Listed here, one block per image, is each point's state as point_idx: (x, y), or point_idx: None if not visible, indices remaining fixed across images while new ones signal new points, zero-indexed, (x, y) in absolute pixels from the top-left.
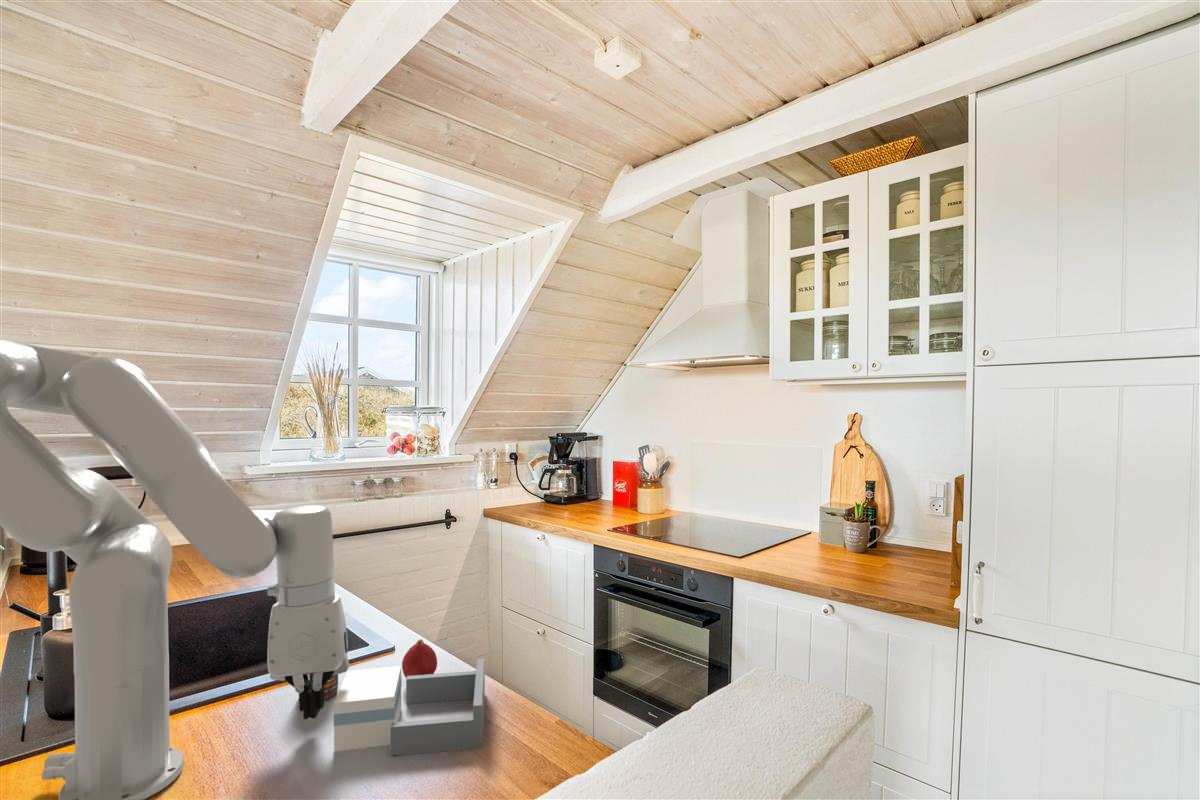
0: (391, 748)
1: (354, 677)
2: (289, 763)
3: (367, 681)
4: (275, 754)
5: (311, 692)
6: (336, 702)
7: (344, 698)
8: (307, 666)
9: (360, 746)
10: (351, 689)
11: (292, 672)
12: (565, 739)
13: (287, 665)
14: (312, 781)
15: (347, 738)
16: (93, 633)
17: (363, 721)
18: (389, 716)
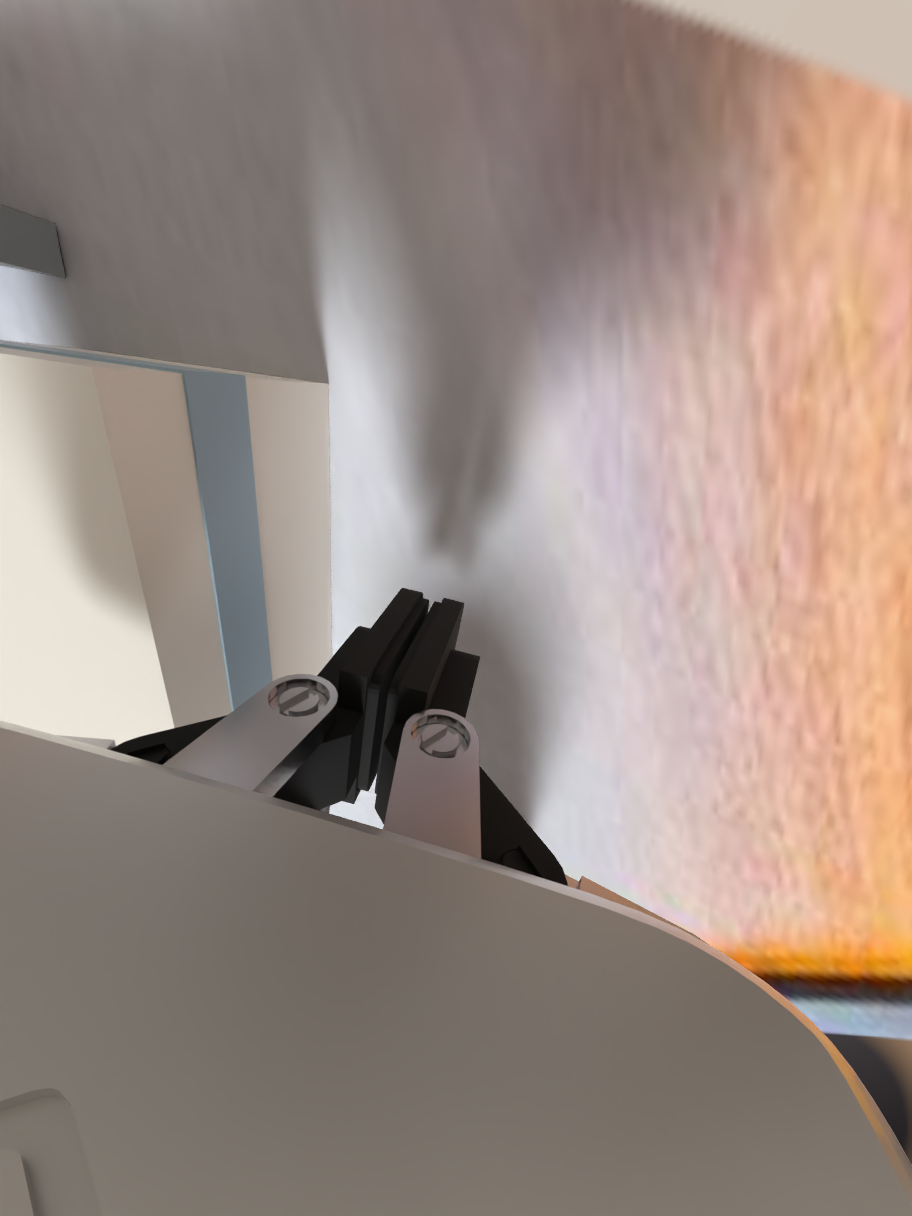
0: (6, 206)
1: None
2: (533, 343)
3: (15, 656)
4: (606, 472)
5: (356, 676)
6: (72, 370)
7: (39, 432)
8: (110, 894)
9: (209, 367)
10: (61, 581)
11: (431, 888)
12: None
13: (499, 1128)
14: (387, 48)
15: (232, 372)
16: None
17: (70, 350)
18: None
